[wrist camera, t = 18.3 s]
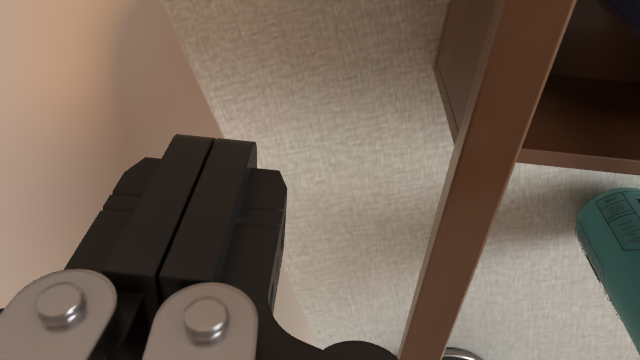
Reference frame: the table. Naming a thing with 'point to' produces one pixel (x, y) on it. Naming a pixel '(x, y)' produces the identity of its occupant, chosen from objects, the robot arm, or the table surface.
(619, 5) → the cup
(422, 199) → the table surface
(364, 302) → the table surface
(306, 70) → the table surface
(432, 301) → the lid
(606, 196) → the beverage bottle
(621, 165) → the chest
